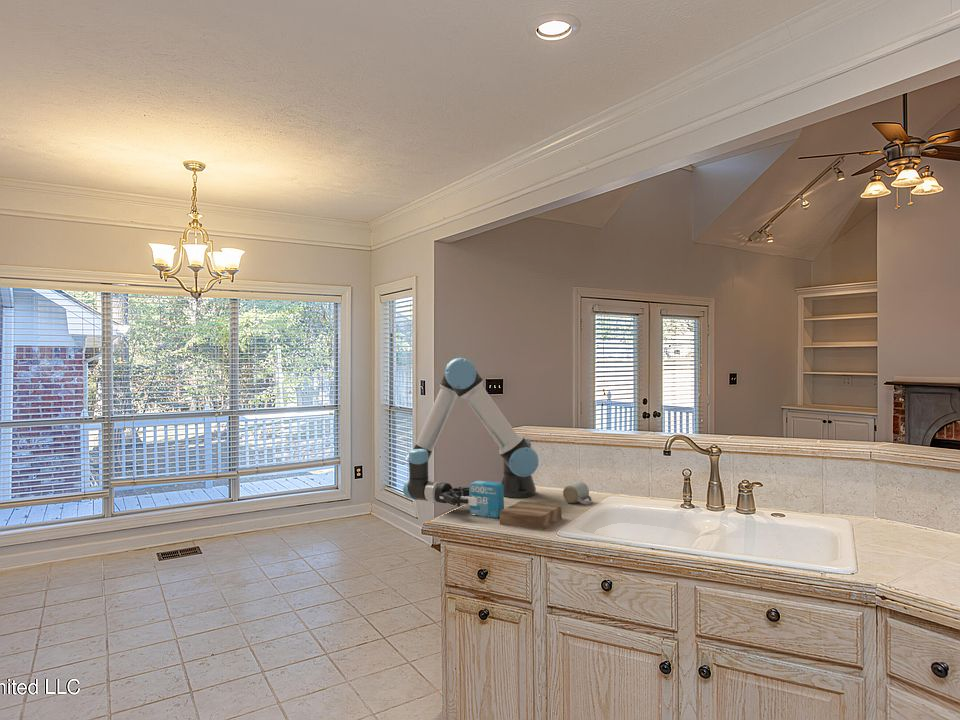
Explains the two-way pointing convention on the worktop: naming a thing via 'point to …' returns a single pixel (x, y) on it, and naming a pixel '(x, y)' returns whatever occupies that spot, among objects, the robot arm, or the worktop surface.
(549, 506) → the walnut block
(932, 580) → the worktop surface
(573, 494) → the ceramic mug
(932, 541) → the worktop surface
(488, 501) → the data package
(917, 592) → the worktop surface
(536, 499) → the worktop surface
